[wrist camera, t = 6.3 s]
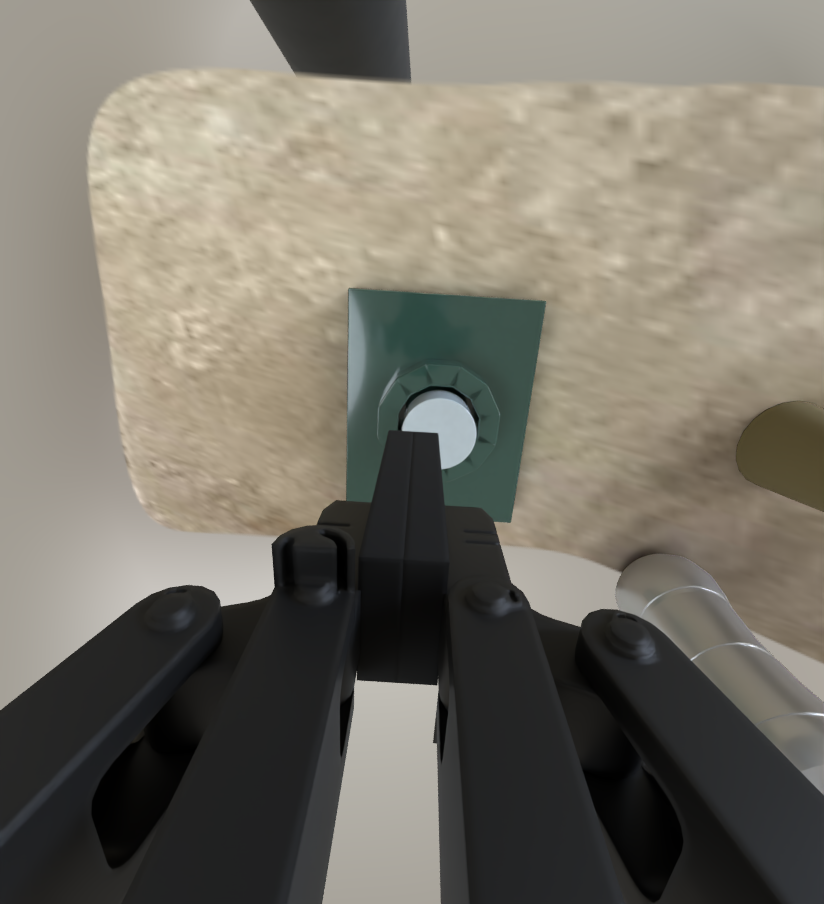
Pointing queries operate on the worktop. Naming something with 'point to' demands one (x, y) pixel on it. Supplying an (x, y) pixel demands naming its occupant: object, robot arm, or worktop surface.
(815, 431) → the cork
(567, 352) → the worktop surface
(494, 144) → the worktop surface
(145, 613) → the robot arm
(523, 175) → the worktop surface
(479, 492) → the green button base
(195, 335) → the worktop surface
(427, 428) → the white push button
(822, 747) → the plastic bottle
